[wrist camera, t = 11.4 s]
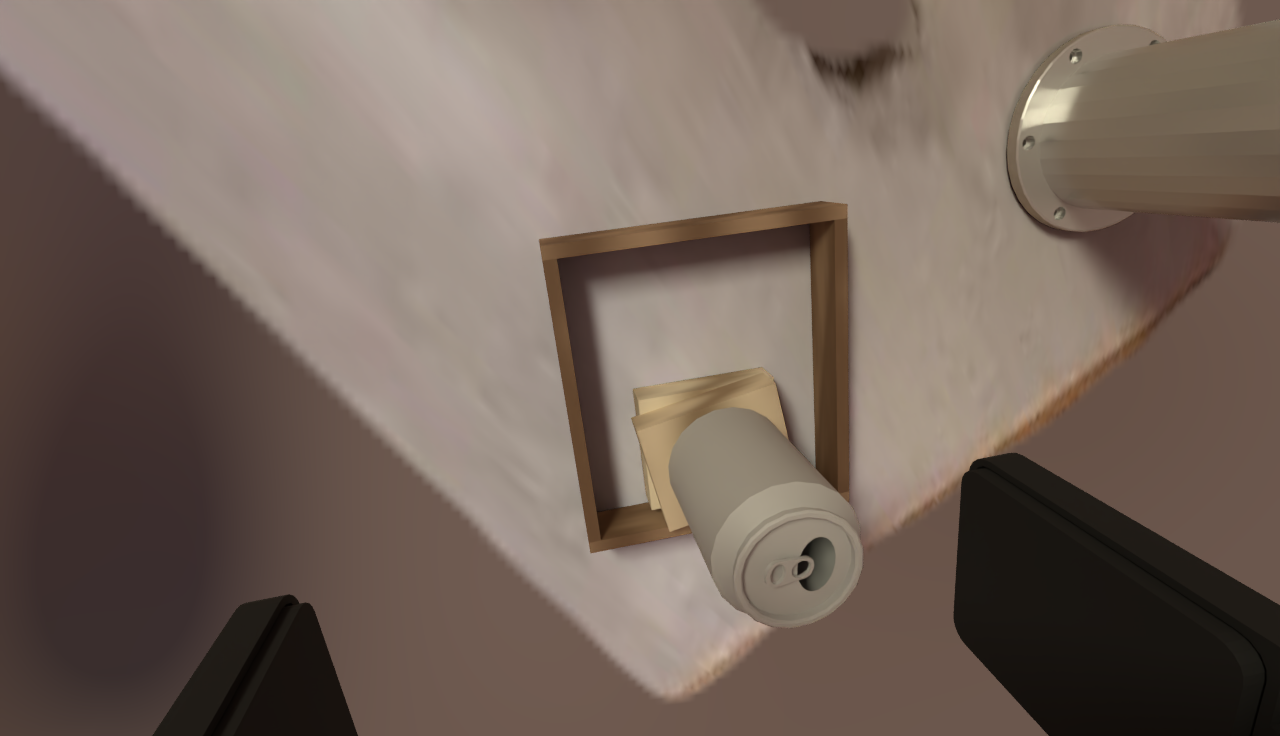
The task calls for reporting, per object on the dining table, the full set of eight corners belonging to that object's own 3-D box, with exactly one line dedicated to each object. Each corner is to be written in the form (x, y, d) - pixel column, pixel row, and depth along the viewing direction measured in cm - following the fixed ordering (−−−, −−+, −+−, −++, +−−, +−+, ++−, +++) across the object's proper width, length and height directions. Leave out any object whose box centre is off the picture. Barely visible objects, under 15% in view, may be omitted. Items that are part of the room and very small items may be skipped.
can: (773, 507, 41) (866, 636, 30) (662, 513, 40) (714, 650, 28) (786, 400, 39) (892, 496, 27) (668, 402, 37) (728, 504, 26)
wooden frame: (821, 201, 40) (847, 204, 36) (826, 478, 46) (848, 501, 43) (538, 239, 37) (539, 246, 34) (586, 524, 44) (590, 553, 41)
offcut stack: (769, 359, 42) (795, 380, 38) (775, 475, 45) (800, 506, 41) (623, 383, 41) (633, 407, 37) (638, 501, 44) (650, 535, 40)
